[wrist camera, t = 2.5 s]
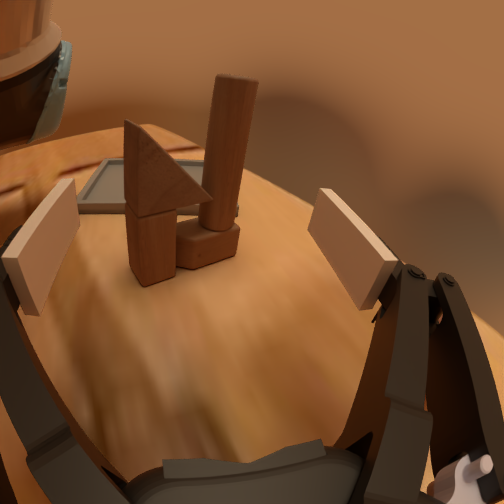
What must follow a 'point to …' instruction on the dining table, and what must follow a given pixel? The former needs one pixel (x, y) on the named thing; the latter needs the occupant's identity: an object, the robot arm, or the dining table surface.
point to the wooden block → (187, 189)
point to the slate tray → (112, 188)
